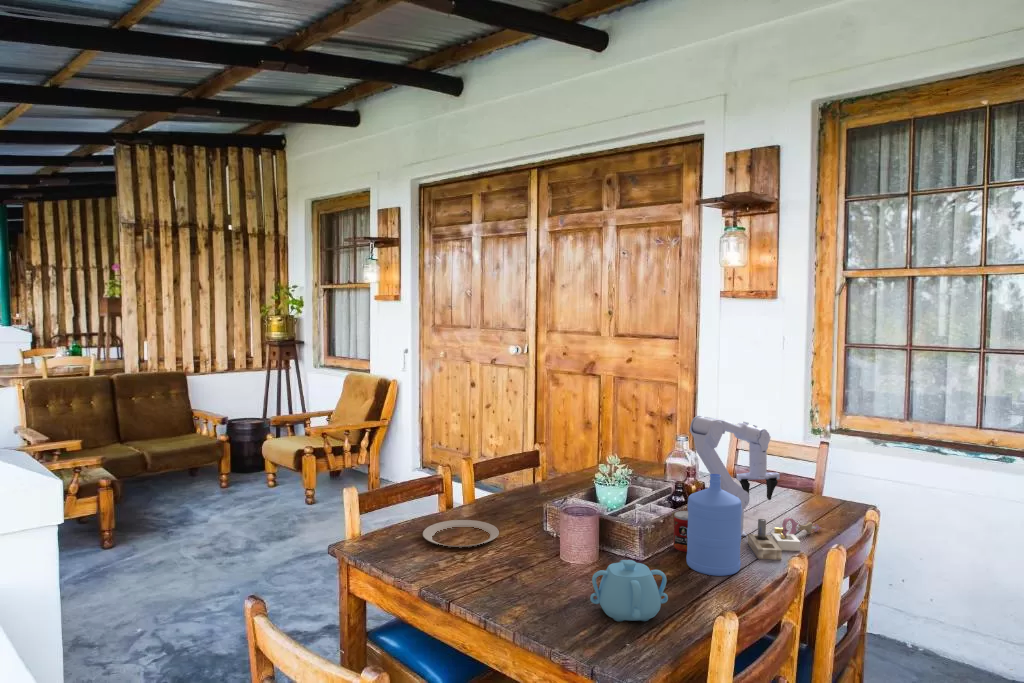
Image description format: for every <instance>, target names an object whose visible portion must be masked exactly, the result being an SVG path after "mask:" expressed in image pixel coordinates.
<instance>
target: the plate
mask: <svg viewBox="0 0 1024 683" xmlns="http://www.w3.org/2000/svg"><path fill="white" fill-rule="evenodd" d="M452 527H474V528H479V529H482V530H484V531H483V532H485V531H486V532H488V533H489V534H490V536H489V538H488V539H487V540H485V541H482V542H480V543H476V544H468V545H466V544H465V545H449V544H444V543H440V542H437V541H435V540H434V539H433V537H432V536H435V533H436V532H437V531H439V532H441V531H440V530H442V531H444V530H443V529H446V530H448V529H447V528H451V529H453V528H452ZM474 528H473V529H474ZM479 529H478V530H479ZM482 530H481V531H482ZM486 532H485V533H486ZM437 533H438V532H437ZM437 533H436V534H437ZM488 533H487V534H488ZM489 534H488V535H489ZM499 535H500V531H499V529H498V528H497V527H496V526H495V525H493V524H491V523H489V522H485V521H480V520H474V519H472V520H471V519H452V520H445V521H444V520H443V521H440V522H437V523H433V524H432V525H429V526H427V527H426V528H425V529H424V530H423V532H422V537H423V538H424V539H425V540H426V541H428V542H430V543H432V544H435V545H438V544H439V545H438V546H440V545H443V546H442V547H444V546H448V547H447V548H451V547H459V548H458V549H463V548H462V547H468V548H473V547H472V546H474V547H478V546H477V545H479V546H481V545H480V544H482V545H484V544H487V543H488V542H491V541H493V540H494V539H496V538H497V537H499ZM483 543H484V544H483Z"/></svg>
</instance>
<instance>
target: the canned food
mask: <svg viewBox="0 0 1024 683" xmlns="http://www.w3.org/2000/svg"><path fill="white" fill-rule="evenodd" d="M673 516H674V517H673V546H674V549H676V550H678V551H680V552H685V553H687V528H688V510H679V511H676V512H674V515H673Z"/></svg>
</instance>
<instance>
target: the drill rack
mask: <svg viewBox="0 0 1024 683" xmlns="http://www.w3.org/2000/svg"><path fill="white" fill-rule="evenodd" d="M747 543H748V545H749V547H750V549H751V550H752V552H753V553H754V555H755V556H756V558H757V559H758V560H775V561H776V560H778V561H779V560H780V561H782V551H783V550H781V549H780V547H779V546H778V545H777V543H776V542H775V541H774V539H773V538H772V535H771V534H766V539H765V540H758V533H756V534H755V533H747Z"/></svg>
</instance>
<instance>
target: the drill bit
mask: <svg viewBox="0 0 1024 683" xmlns="http://www.w3.org/2000/svg"><path fill="white" fill-rule="evenodd" d="M766 529H767V520H766V519H763V518H758V520H757V534H758V540H765V539H766V535H767V534H766V532H767V530H766Z"/></svg>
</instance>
